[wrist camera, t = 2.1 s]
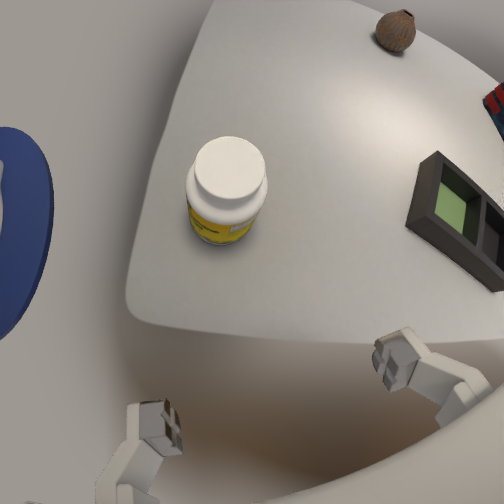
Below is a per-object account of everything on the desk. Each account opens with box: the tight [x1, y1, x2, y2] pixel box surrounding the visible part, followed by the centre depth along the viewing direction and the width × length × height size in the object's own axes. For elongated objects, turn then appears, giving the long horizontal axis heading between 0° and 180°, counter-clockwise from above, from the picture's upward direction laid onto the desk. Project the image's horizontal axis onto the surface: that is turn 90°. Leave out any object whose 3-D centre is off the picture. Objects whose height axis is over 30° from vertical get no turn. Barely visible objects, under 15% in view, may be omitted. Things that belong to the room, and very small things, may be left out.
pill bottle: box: [186, 136, 268, 245], centre depth 24 cm, size 6×6×11 cm
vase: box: [375, 9, 416, 52], centre depth 36 cm, size 7×7×9 cm
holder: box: [406, 150, 504, 292], centre depth 33 cm, size 20×10×4 cm, turn 64°
